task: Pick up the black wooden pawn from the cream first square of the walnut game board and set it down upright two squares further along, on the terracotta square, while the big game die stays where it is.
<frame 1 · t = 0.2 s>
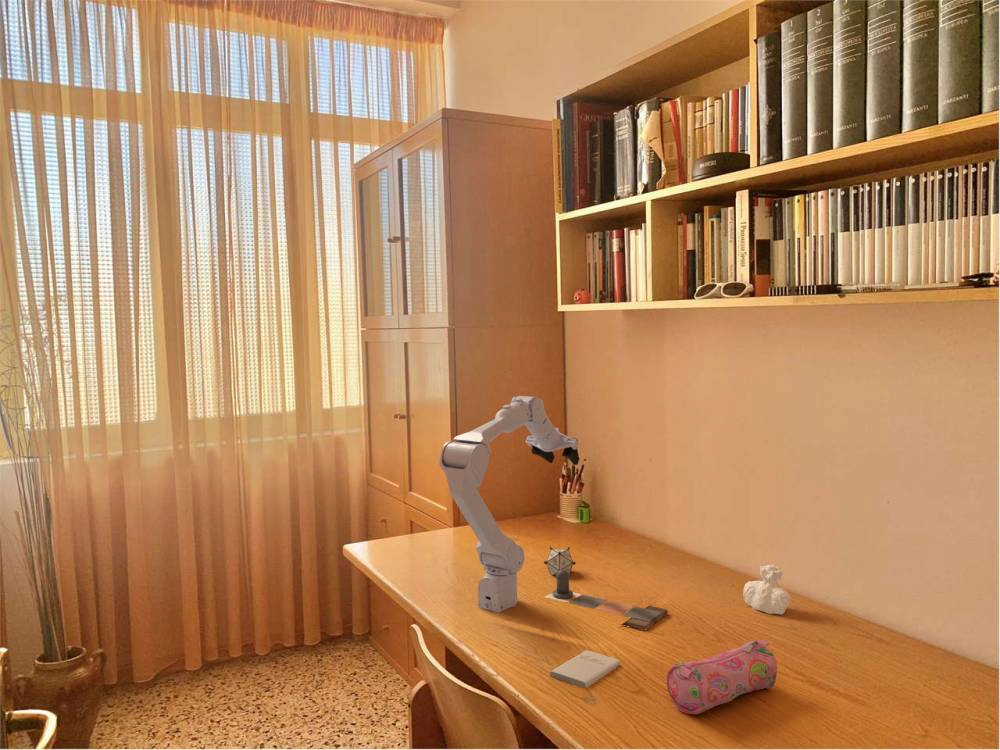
hand: (564, 460, 208), 31 cm above the table, tool tilted 45°, fingers open, 7 cm apart
board: (601, 609, 187), on the table
external hard drive: (585, 673, 155), on the table
pawn: (562, 595, 193), point 1 cm above the table, touching board
pencil case: (723, 700, 143), on the table
game die: (559, 578, 210), on the table
bust: (768, 609, 186), on the table
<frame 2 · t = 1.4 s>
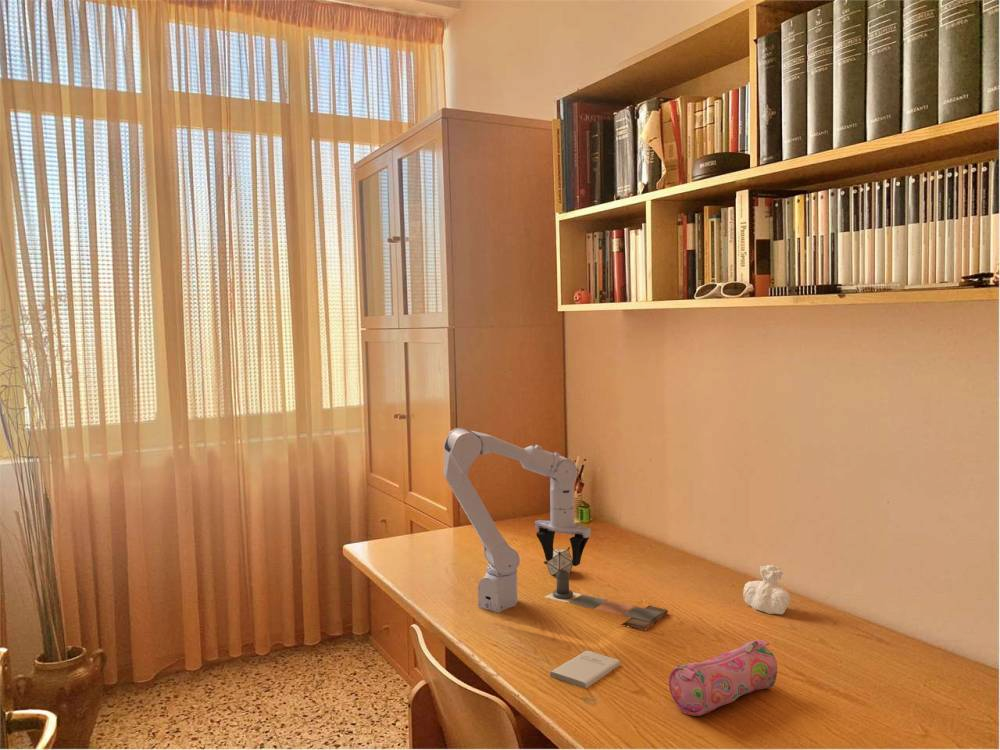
hand: (562, 562, 192), 9 cm above the table, tool pointing down, fingers open, 7 cm apart
nothing on the table moved.
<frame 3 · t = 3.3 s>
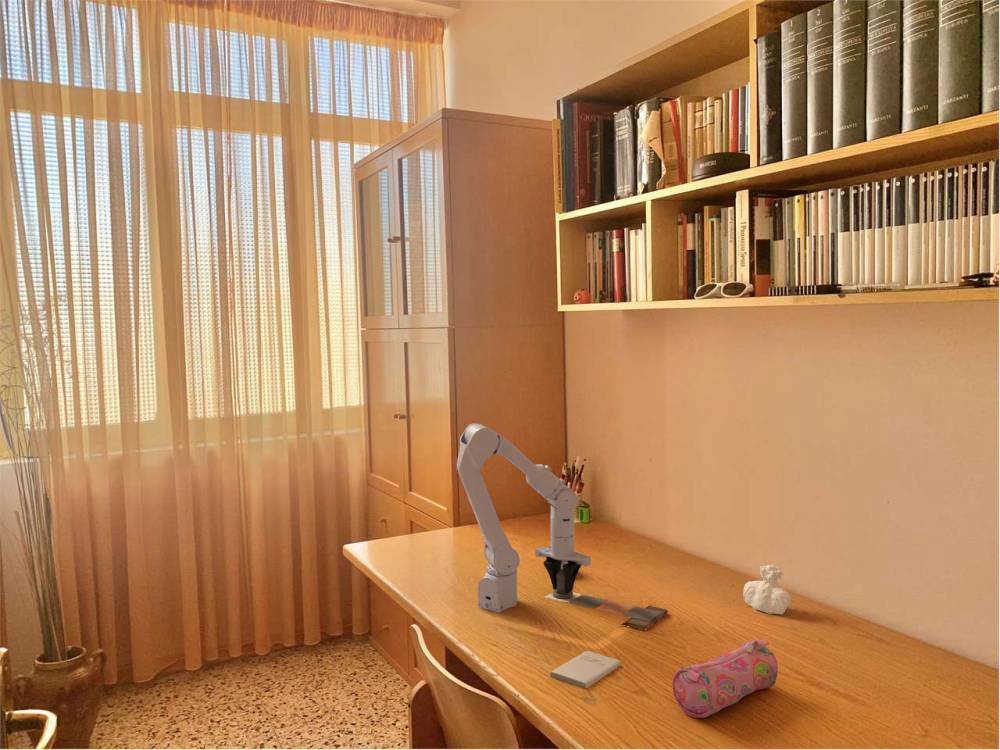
hand: (562, 589, 192), 3 cm above the table, tool pointing down, fingers closed on pawn, 3 cm apart
pawn: (562, 595, 193), point 1 cm above the table, touching board, gripper
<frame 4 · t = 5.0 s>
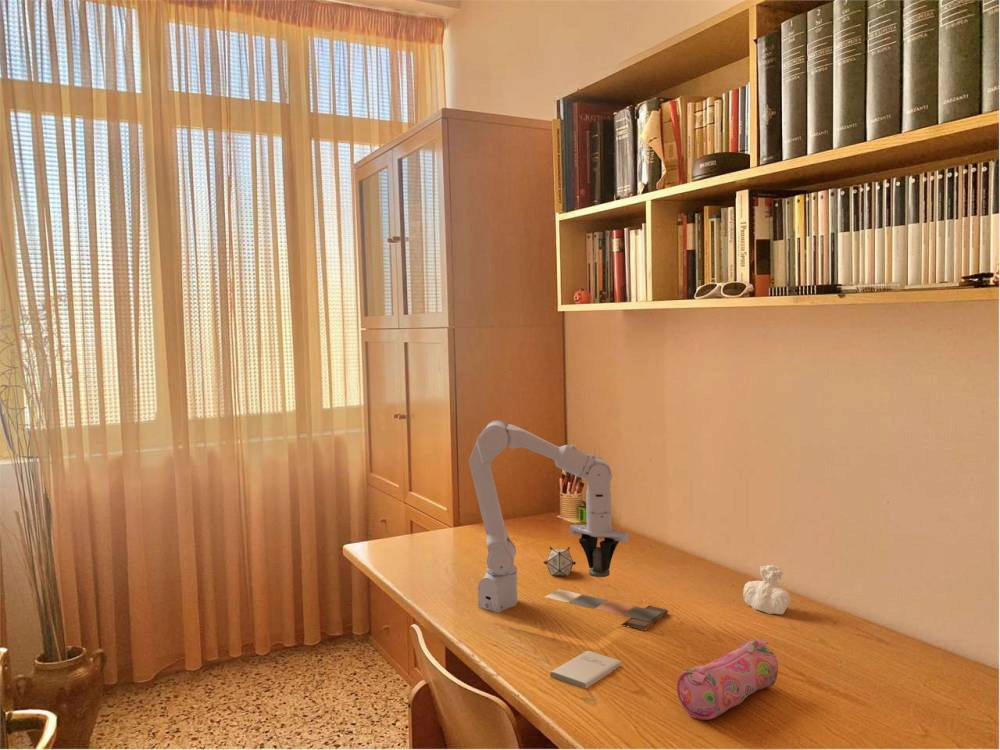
hand: (599, 568, 186), 10 cm above the table, tool pointing down, fingers closed on pawn, 3 cm apart
pawn: (599, 573, 186), point 8 cm above the table, touching gripper
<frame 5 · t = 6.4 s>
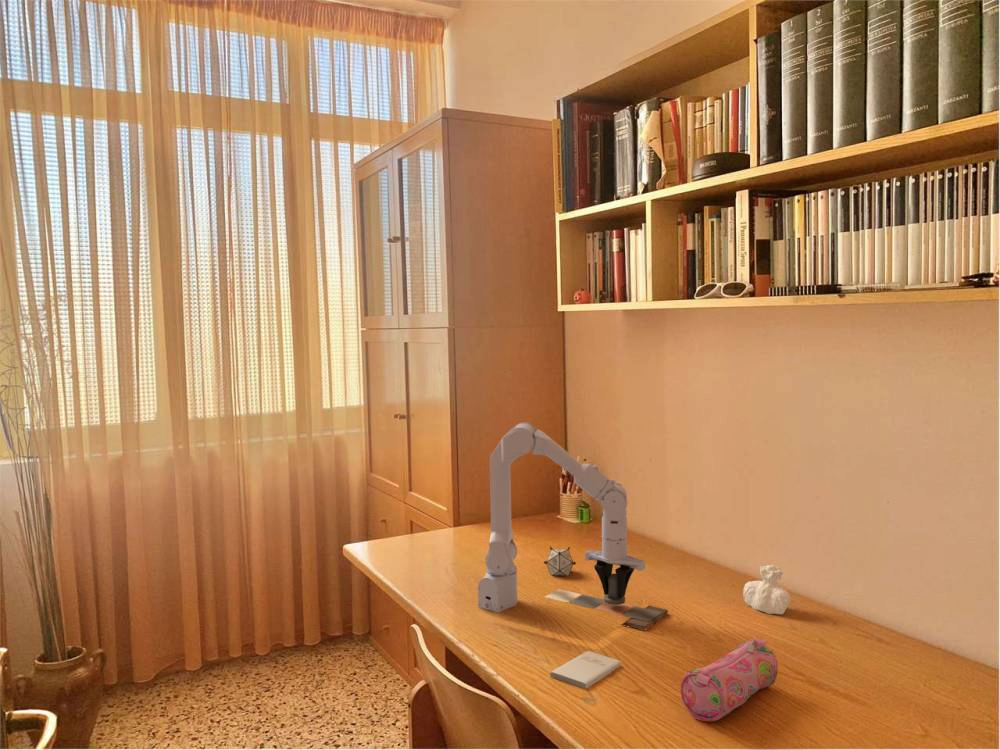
hand: (614, 595, 184), 4 cm above the table, tool pointing down, fingers closed on pawn, 3 cm apart
pawn: (614, 600, 184), point 3 cm above the table, touching gripper
when the fingers open (4 cm above the table, at t = 7.1 s): pawn drops 2 cm, resting on board.
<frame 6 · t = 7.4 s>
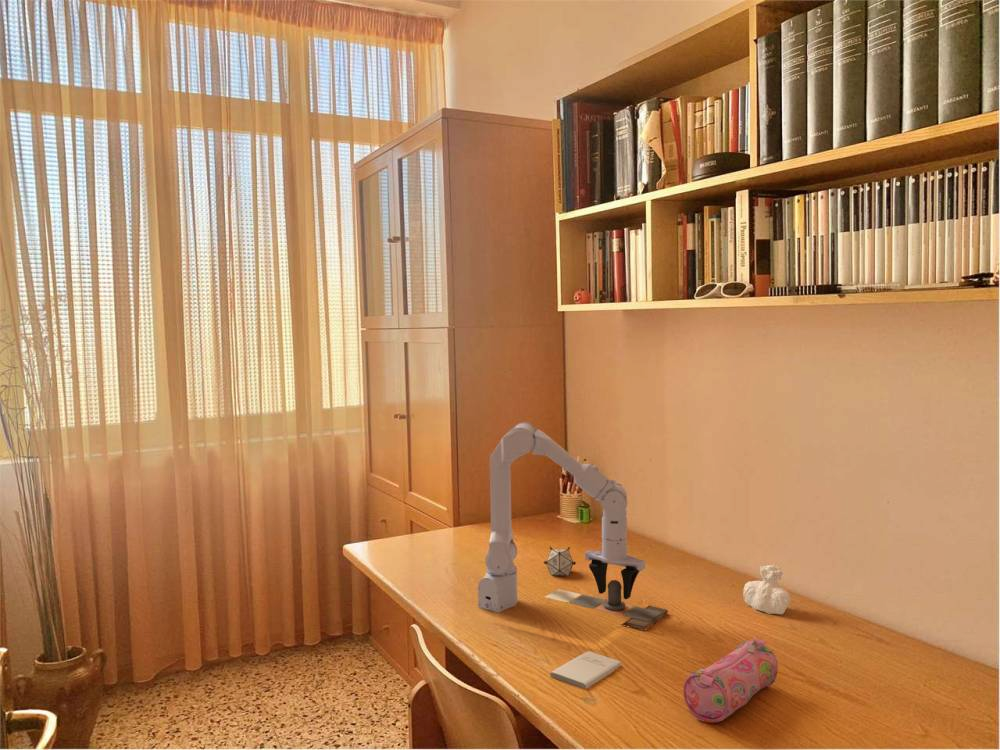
hand: (614, 595, 184), 4 cm above the table, tool pointing down, fingers open, 6 cm apart
pawn: (614, 607, 184), point 1 cm above the table, touching board
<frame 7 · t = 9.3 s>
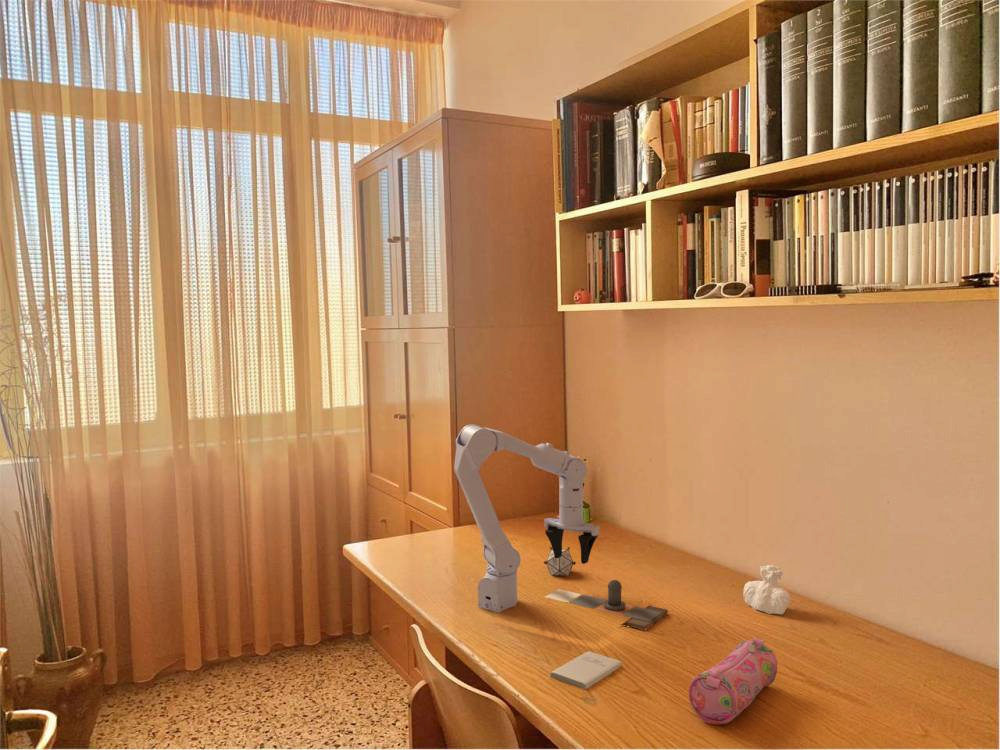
hand: (571, 559, 194), 9 cm above the table, tool pointing down, fingers open, 7 cm apart
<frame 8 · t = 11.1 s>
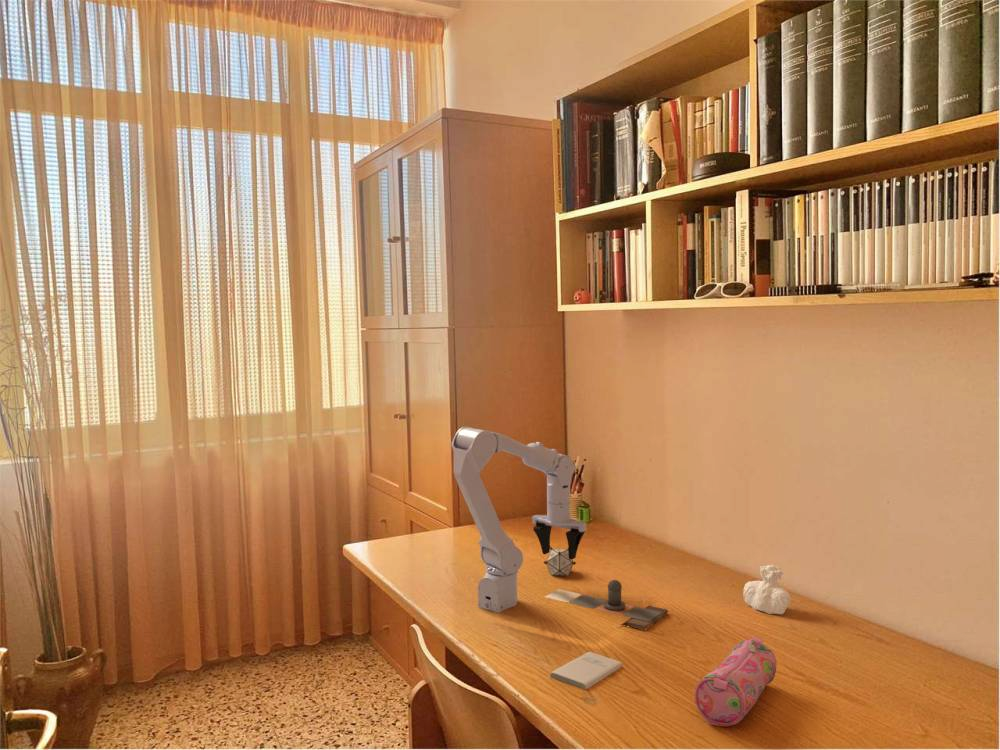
hand: (559, 555, 197), 9 cm above the table, tool pointing down, fingers open, 7 cm apart
at the end: pawn 0.1 cm from the target spot on the board, point 1.2 cm above the board's base; pawn tilted 0°; the gripper is holding nothing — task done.
